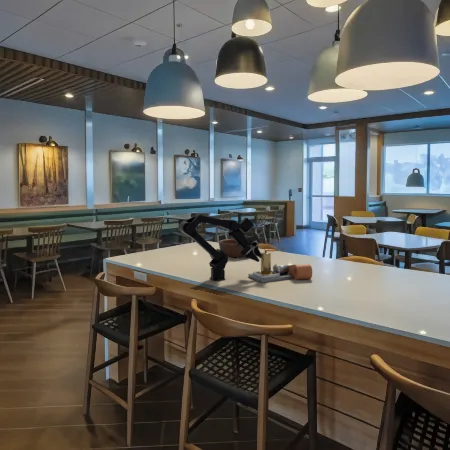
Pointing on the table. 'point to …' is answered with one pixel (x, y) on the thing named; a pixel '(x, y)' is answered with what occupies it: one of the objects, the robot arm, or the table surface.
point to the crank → (300, 271)
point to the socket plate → (277, 275)
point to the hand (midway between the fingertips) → (260, 259)
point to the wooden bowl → (231, 248)
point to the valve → (266, 263)
